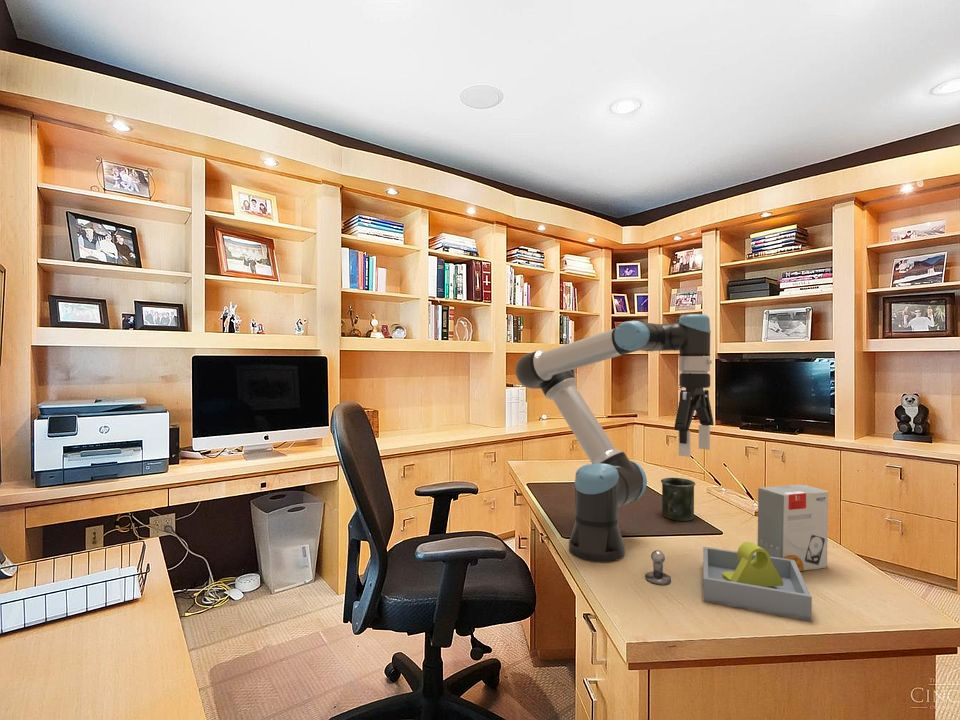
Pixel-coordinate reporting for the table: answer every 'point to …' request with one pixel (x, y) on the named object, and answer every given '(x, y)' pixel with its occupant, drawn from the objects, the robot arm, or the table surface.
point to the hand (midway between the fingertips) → (694, 452)
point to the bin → (756, 587)
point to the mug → (678, 499)
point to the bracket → (754, 568)
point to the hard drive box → (794, 524)
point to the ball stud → (658, 570)
